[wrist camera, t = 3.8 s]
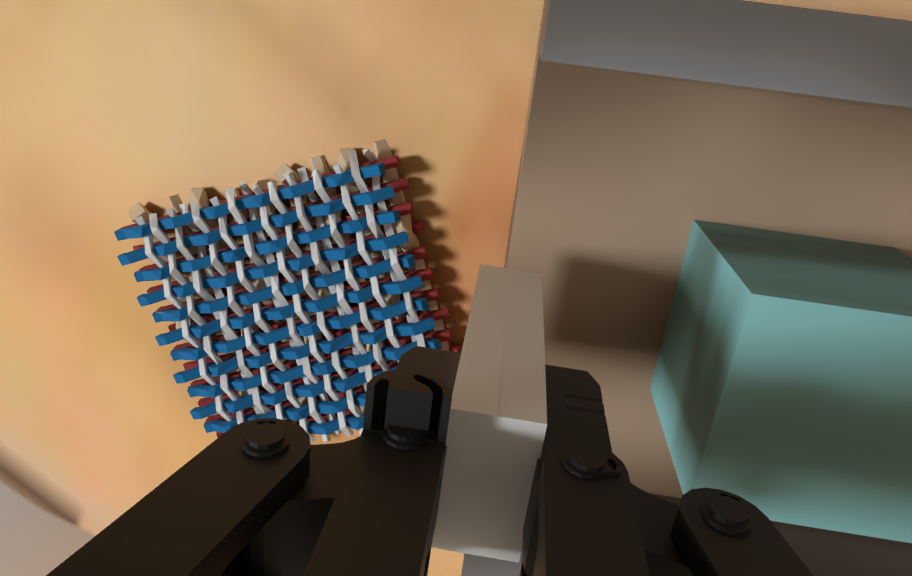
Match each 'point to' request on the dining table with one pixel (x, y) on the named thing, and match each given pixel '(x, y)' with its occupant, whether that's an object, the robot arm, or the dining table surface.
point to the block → (792, 377)
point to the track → (699, 187)
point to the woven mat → (291, 292)
